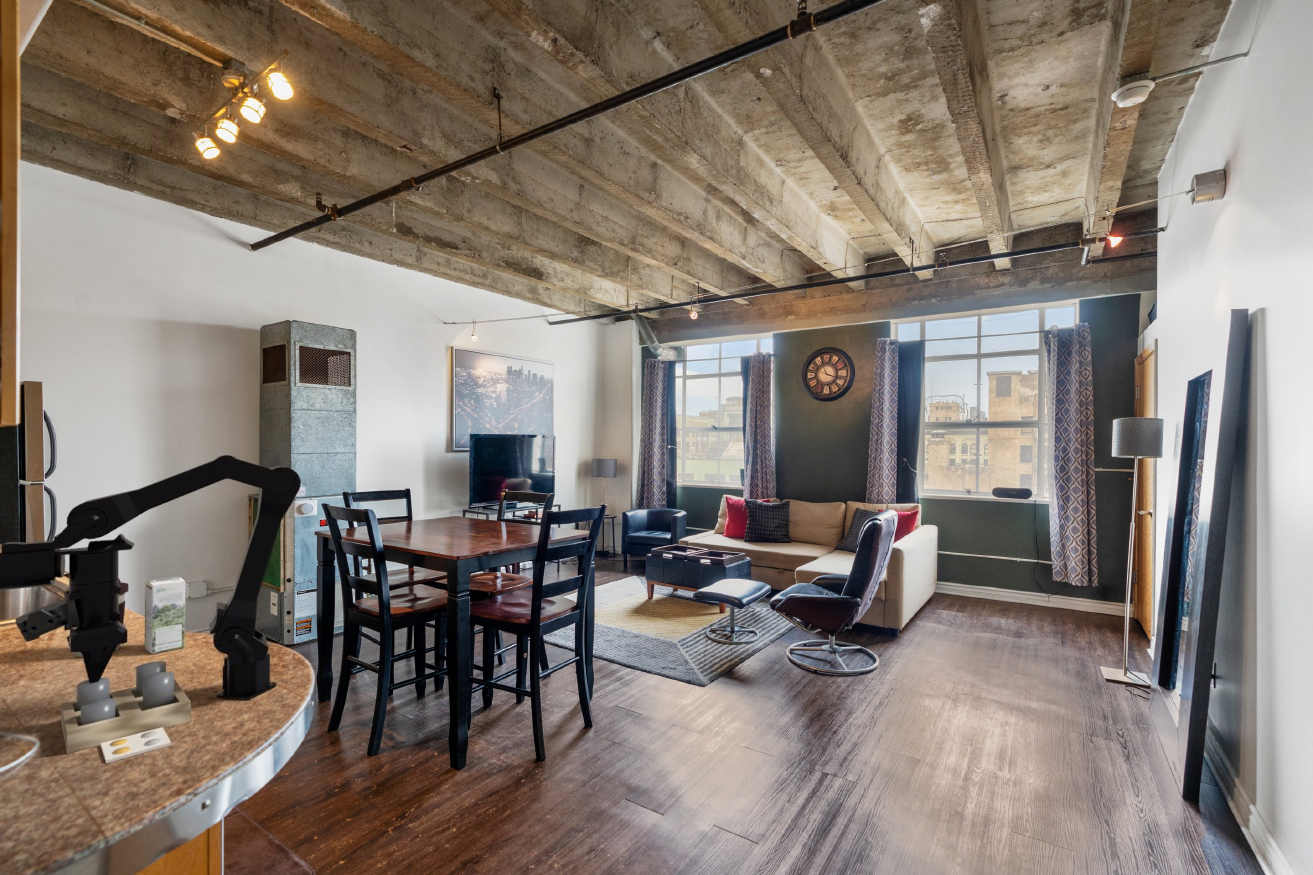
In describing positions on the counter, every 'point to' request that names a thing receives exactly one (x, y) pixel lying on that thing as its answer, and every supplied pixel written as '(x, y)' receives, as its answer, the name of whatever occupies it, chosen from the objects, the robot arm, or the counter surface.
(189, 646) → the counter surface
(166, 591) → the syrup box
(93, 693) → the button
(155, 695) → the button
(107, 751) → the pattern tile
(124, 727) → the button board
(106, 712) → the button
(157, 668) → the button
